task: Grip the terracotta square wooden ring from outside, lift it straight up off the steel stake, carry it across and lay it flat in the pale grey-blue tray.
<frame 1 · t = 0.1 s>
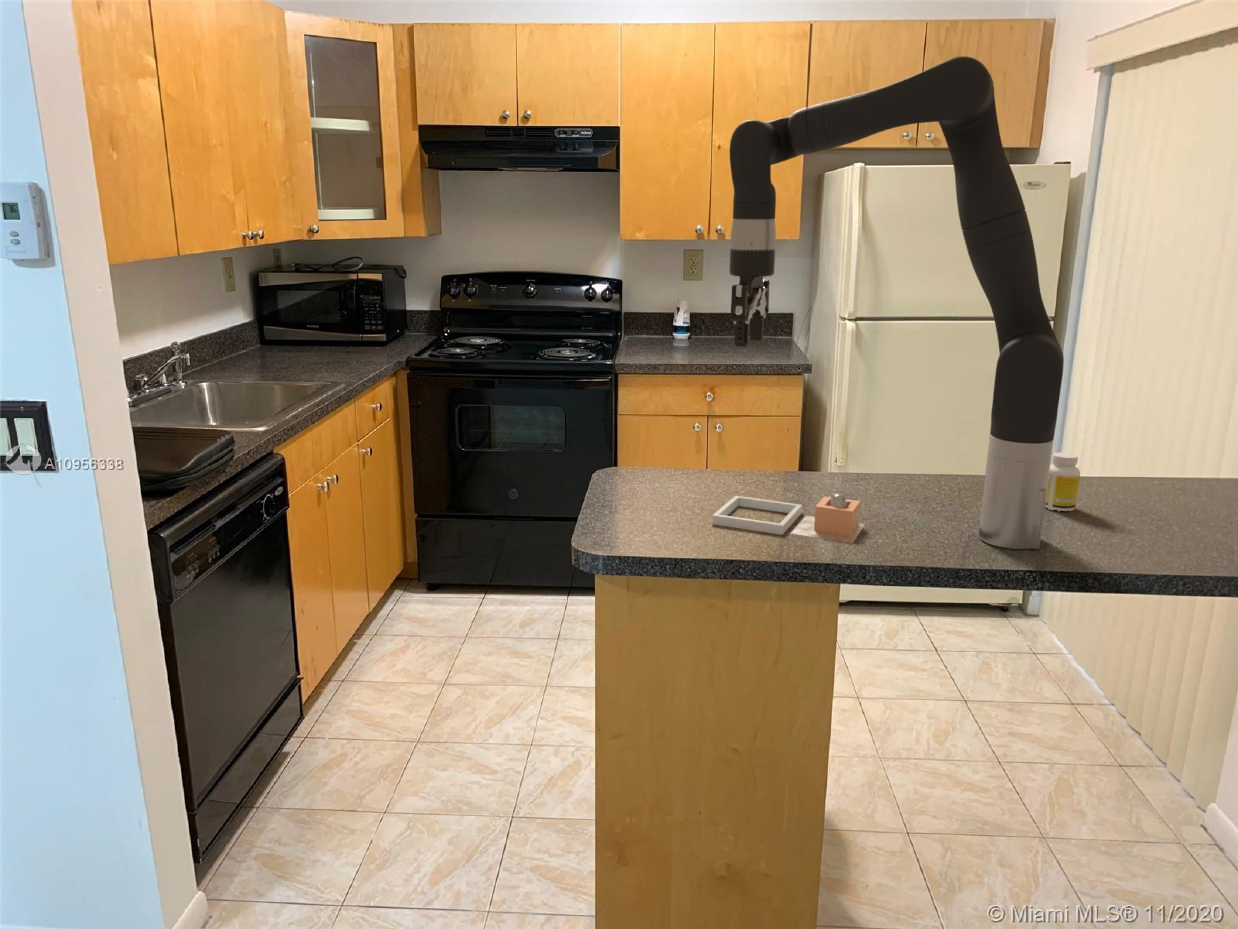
hand: (749, 343, 160), 29 cm above the worktop, fingers open, 8 cm apart
tray: (757, 523, 157), on the worktop
supplement bottle: (1058, 508, 165), on the worktop
ring: (836, 526, 152), point 1 cm above the worktop, touching stake
stake: (827, 534, 152), on the worktop
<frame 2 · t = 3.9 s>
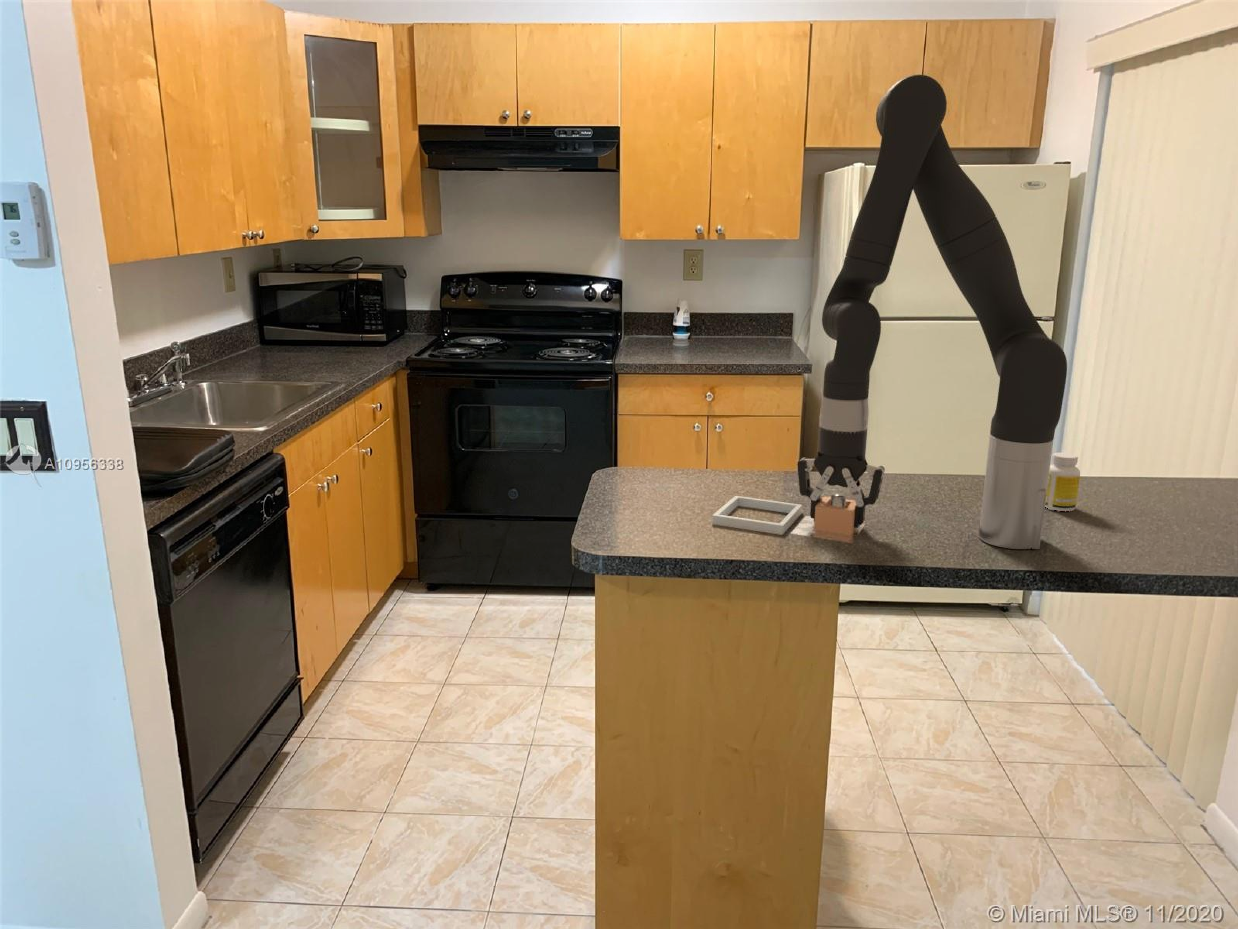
hand: (836, 523, 152), 2 cm above the worktop, fingers closed on ring, 6 cm apart
ring: (836, 526, 152), point 1 cm above the worktop, touching gripper, stake
everything else where it was.
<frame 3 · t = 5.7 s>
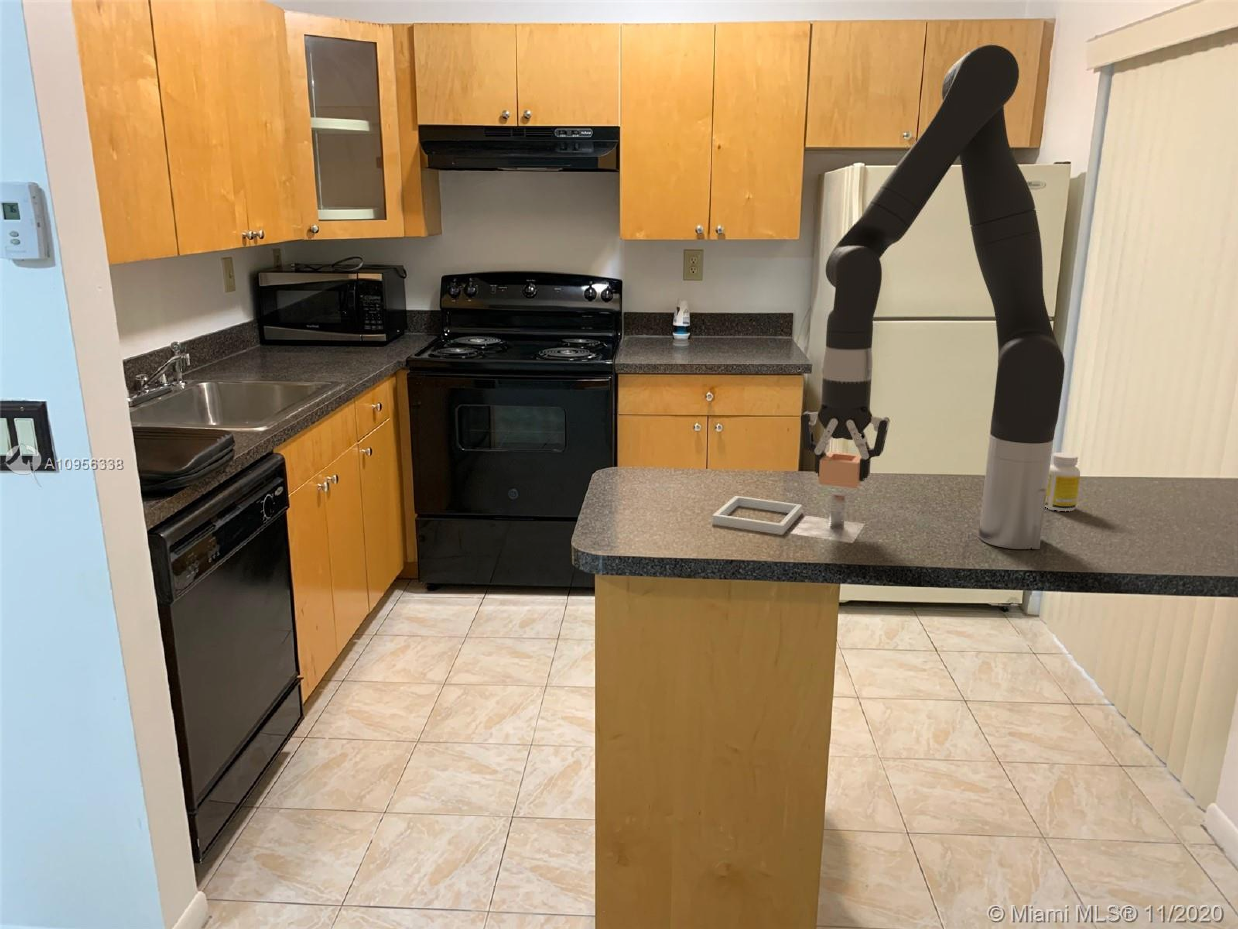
hand: (841, 477, 150), 10 cm above the worktop, fingers closed on ring, 6 cm apart
ring: (841, 481, 150), point 9 cm above the worktop, touching gripper
everything else where it was.
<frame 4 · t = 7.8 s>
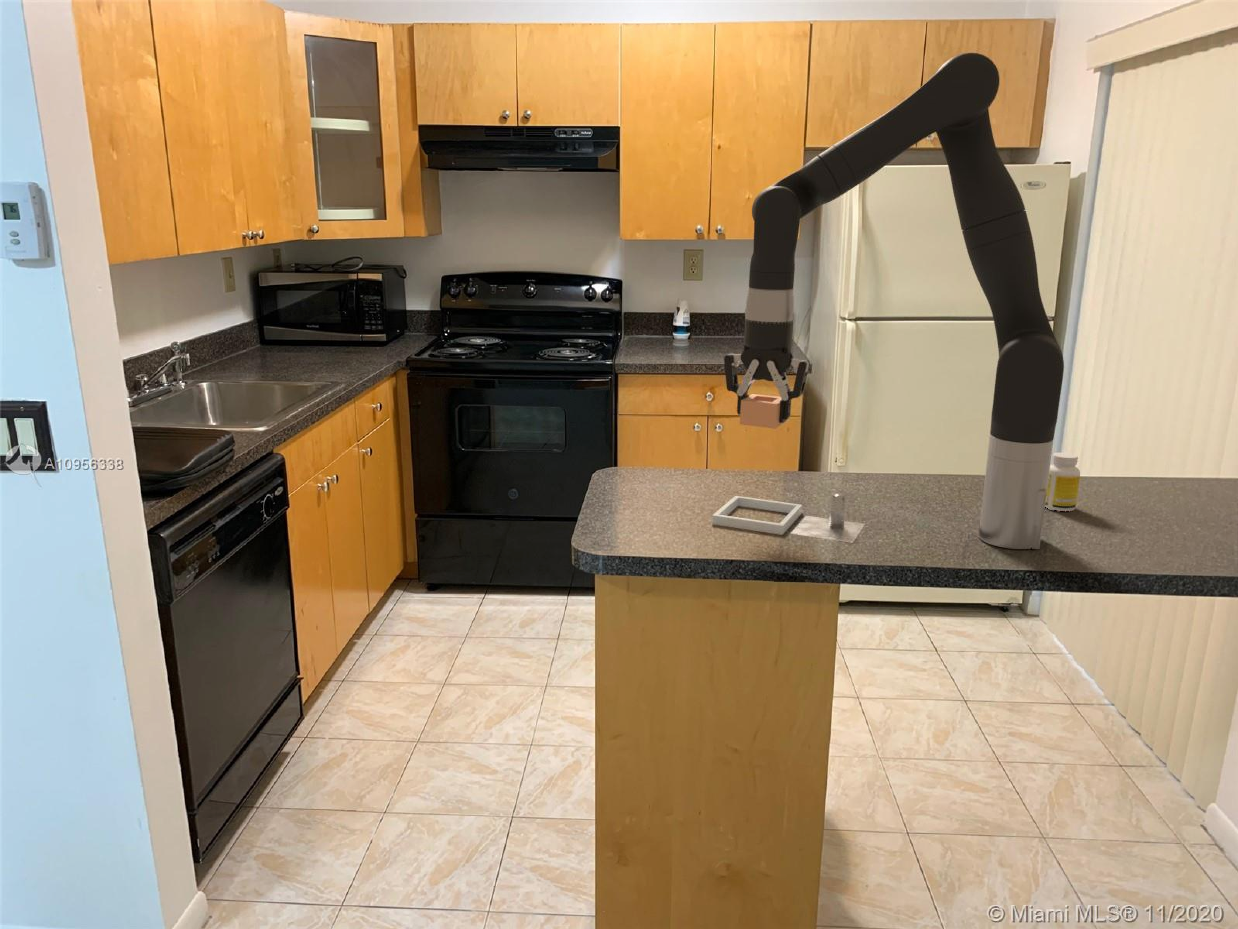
hand: (762, 419, 152), 18 cm above the worktop, fingers closed on ring, 6 cm apart
ring: (762, 422, 152), point 18 cm above the worktop, touching gripper
everything else where it was.
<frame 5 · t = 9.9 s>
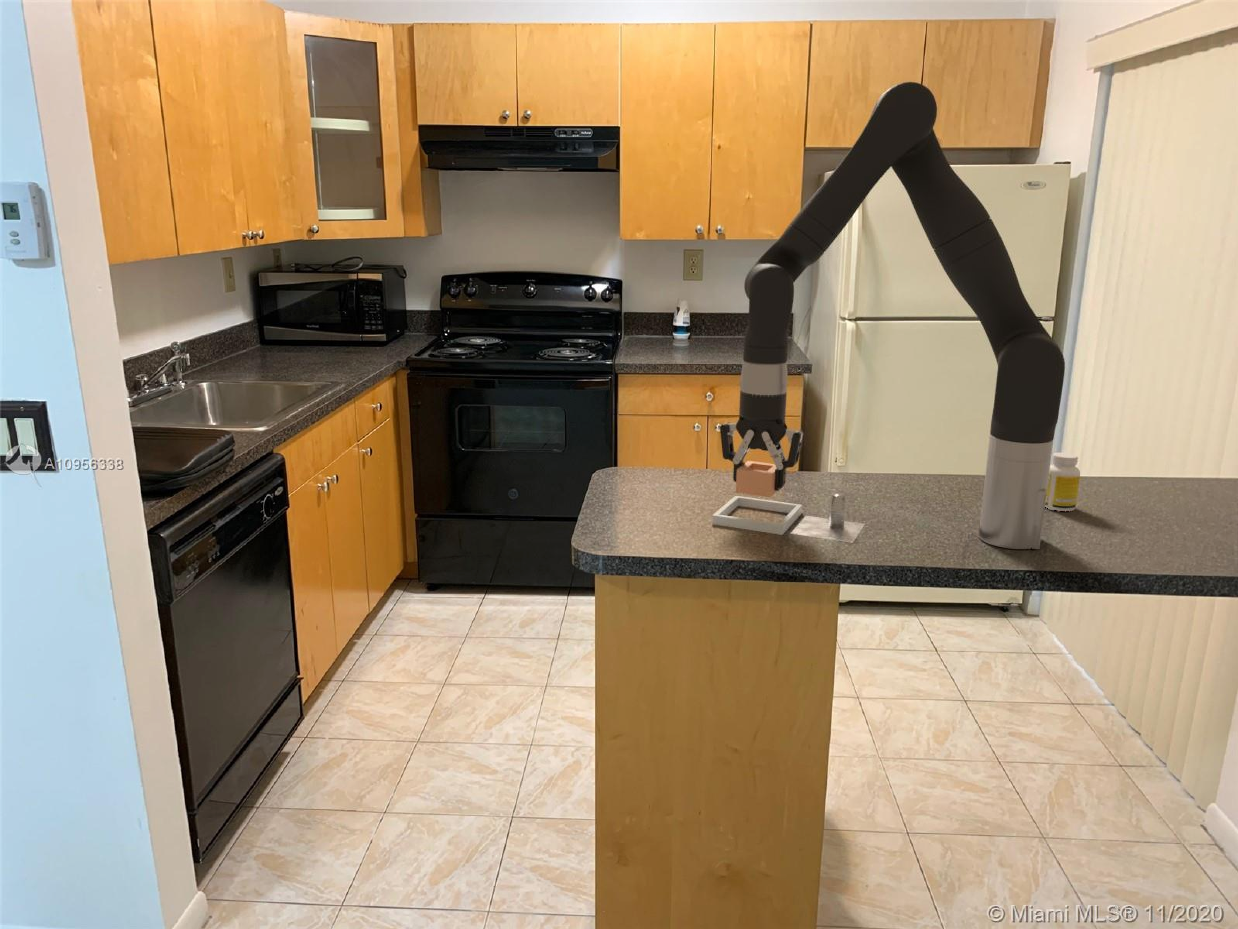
hand: (758, 486, 155), 7 cm above the worktop, fingers closed on ring, 6 cm apart
ring: (758, 490, 155), point 6 cm above the worktop, touching gripper
everything else where it was.
when the fingers open (3 cm above the worktop, at t = 11.7 s): ring drops 1 cm, resting on tray.
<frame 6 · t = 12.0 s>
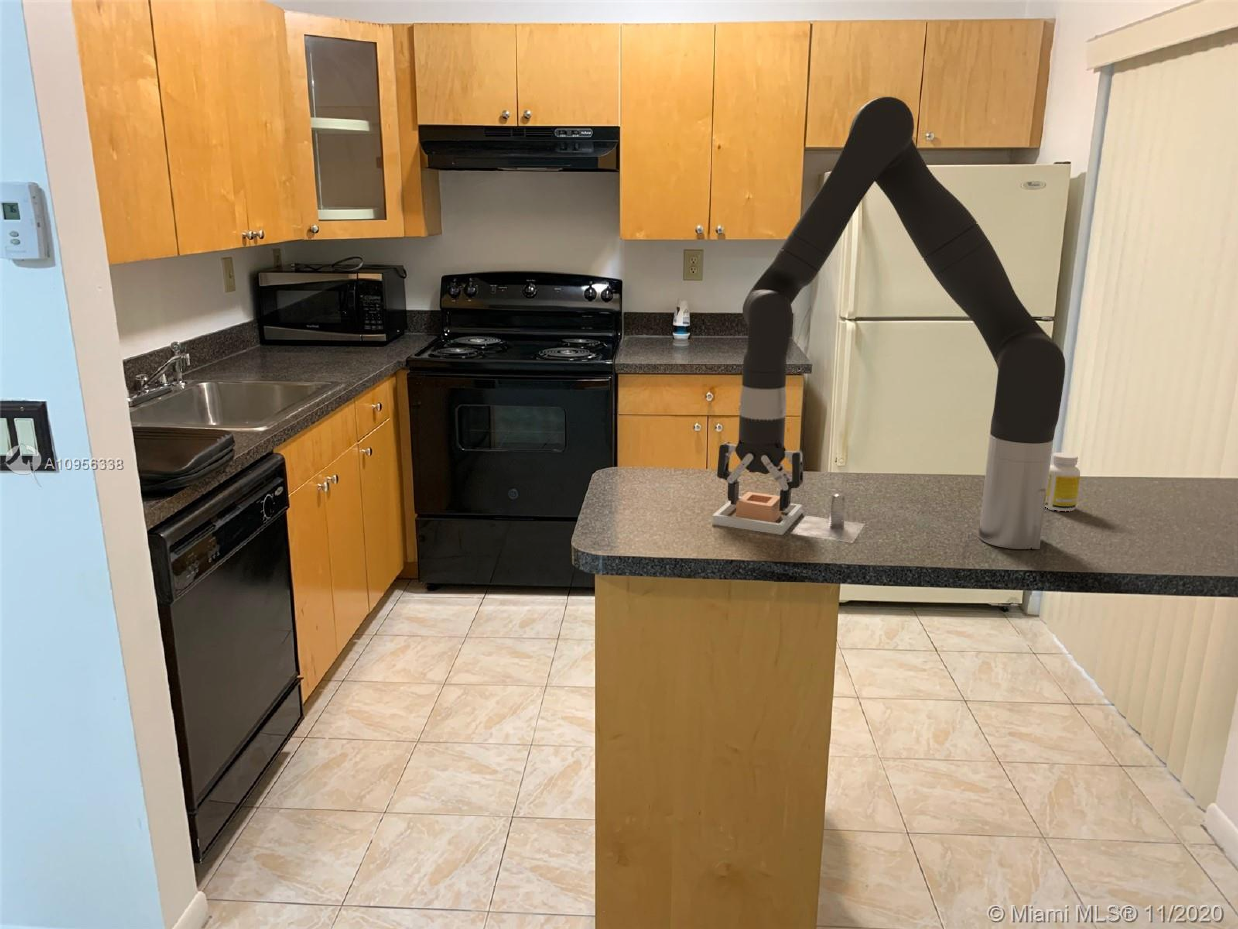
hand: (758, 506, 156), 3 cm above the worktop, fingers open, 8 cm apart
ring: (758, 521, 156), resting on tray
everything else where it was.
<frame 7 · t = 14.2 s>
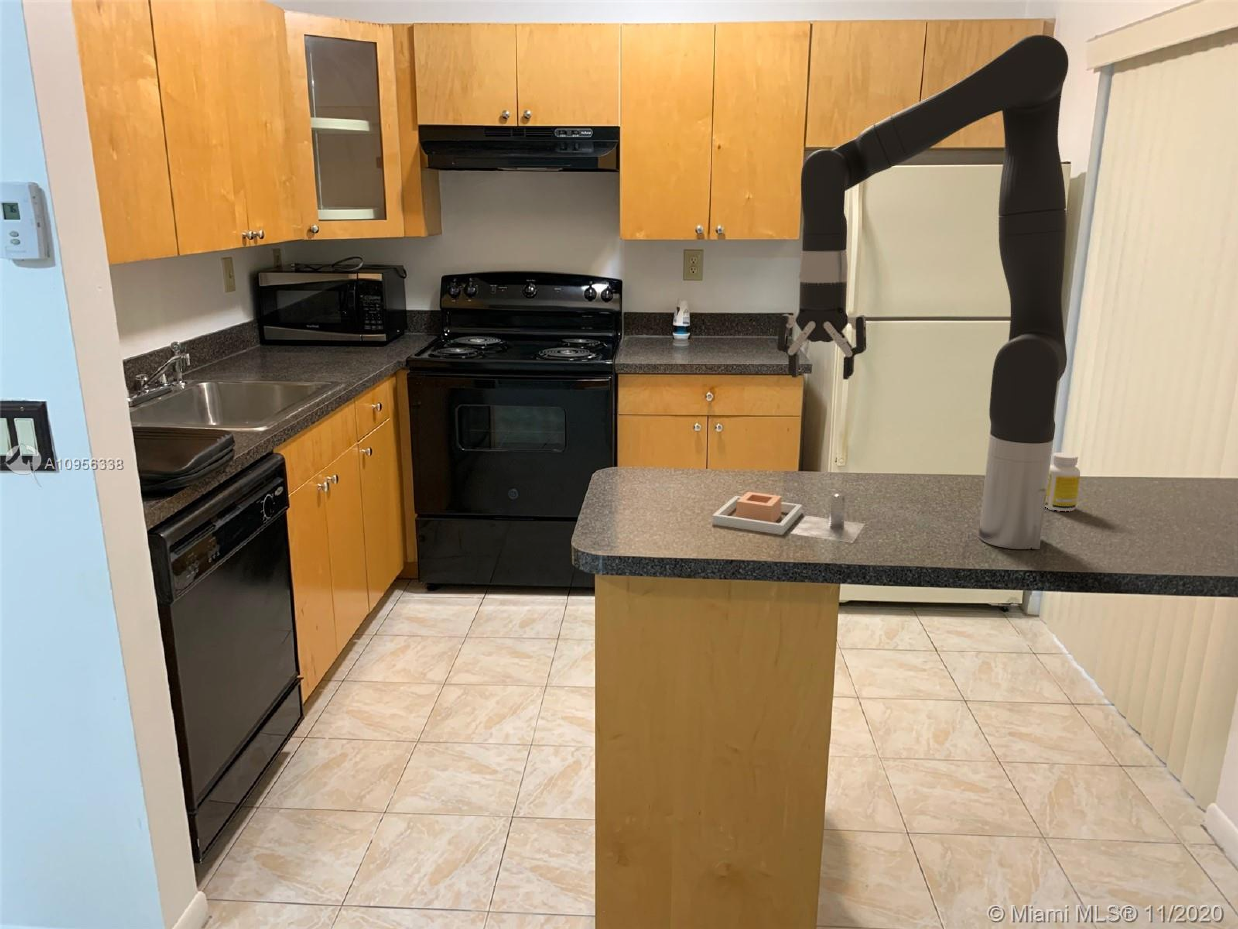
hand: (820, 377, 154), 24 cm above the worktop, fingers open, 8 cm apart
nothing on the worktop moved.
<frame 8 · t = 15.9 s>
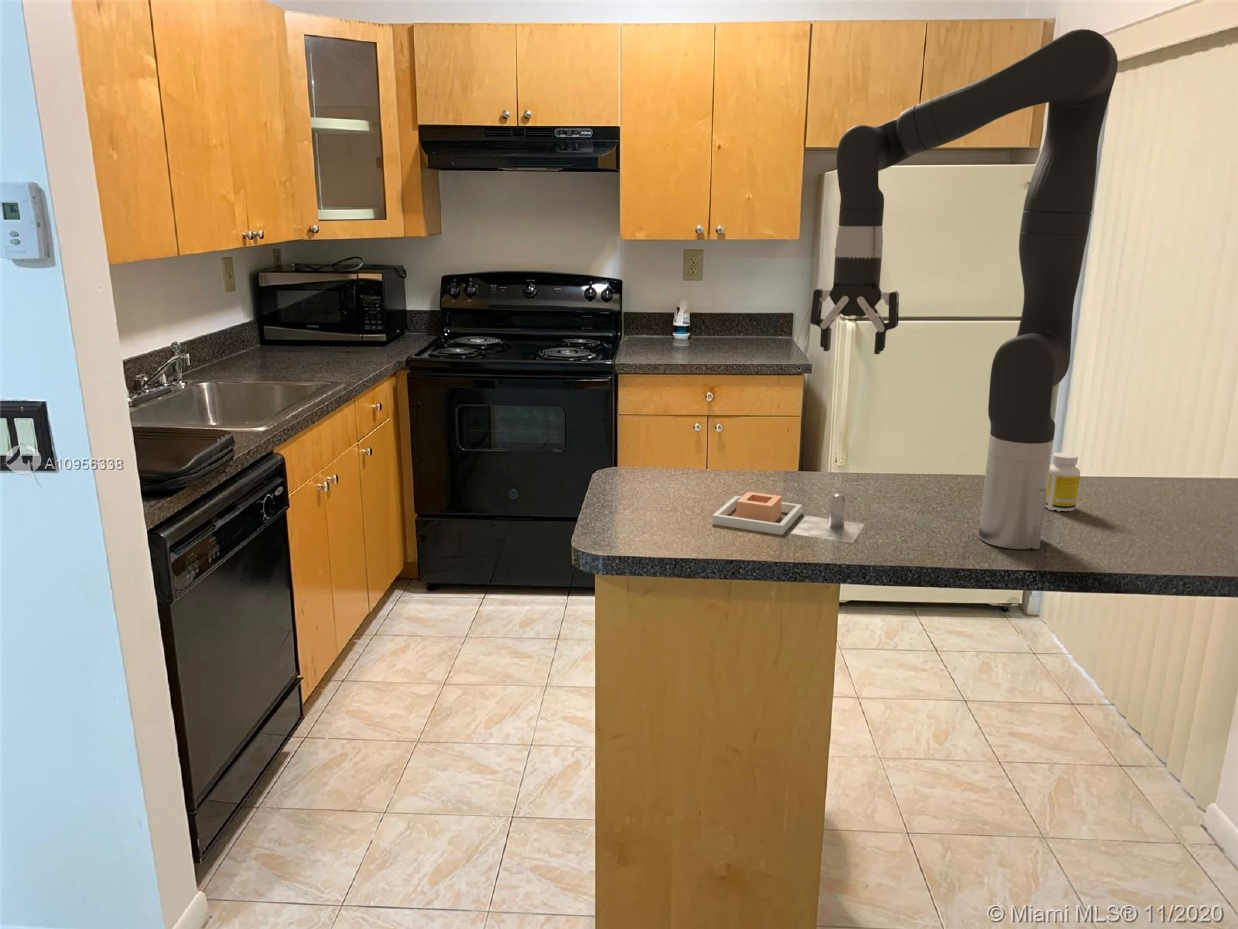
hand: (851, 352, 157), 28 cm above the worktop, fingers open, 8 cm apart
nothing on the worktop moved.
at the end: ring 0.1 cm off-centre on the tray, point 0.5 cm above the tray's base; ring tilted 0°; the gripper is holding nothing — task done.
